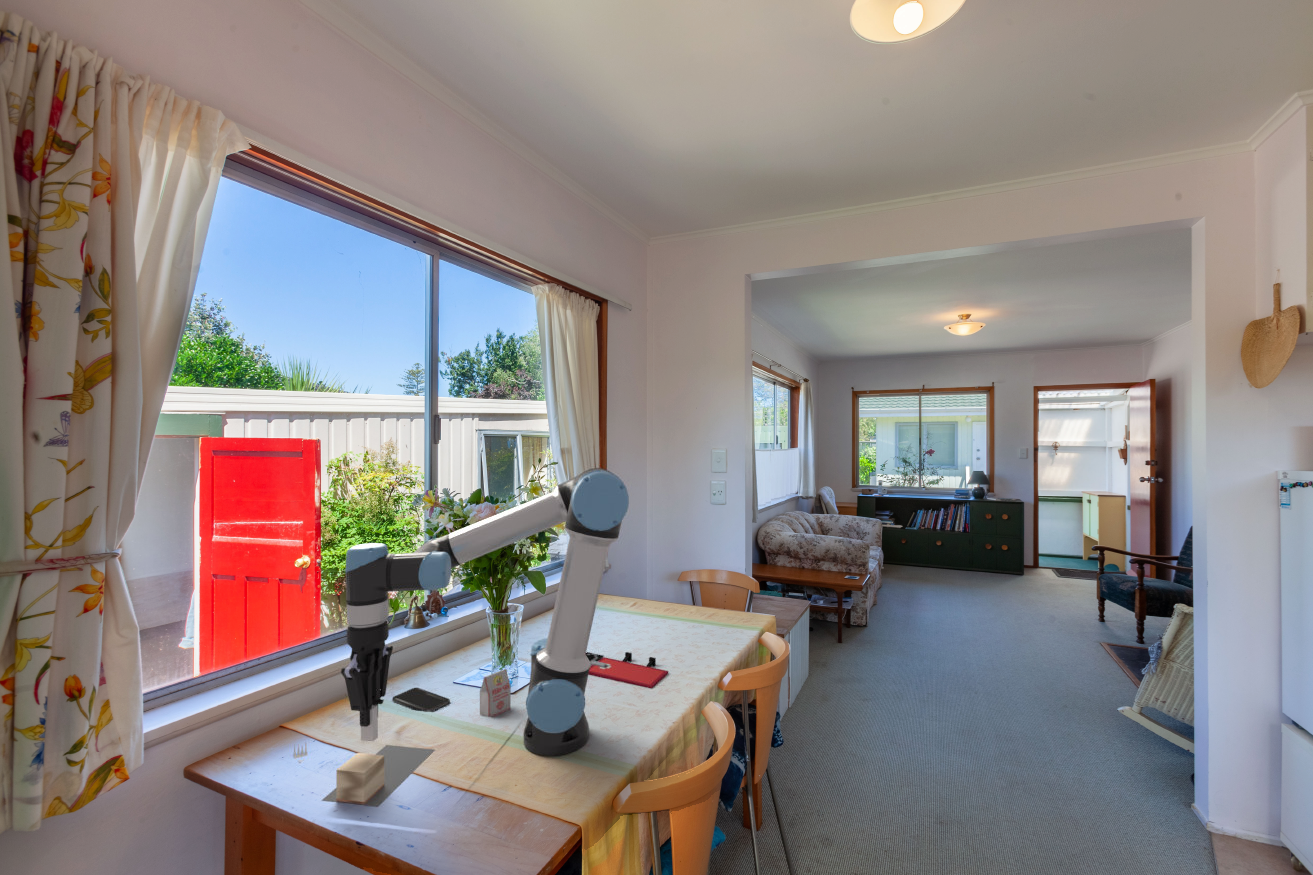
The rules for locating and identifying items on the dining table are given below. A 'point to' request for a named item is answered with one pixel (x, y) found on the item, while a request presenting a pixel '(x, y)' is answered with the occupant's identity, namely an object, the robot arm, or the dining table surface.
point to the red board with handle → (625, 670)
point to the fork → (299, 753)
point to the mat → (392, 771)
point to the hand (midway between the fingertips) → (369, 738)
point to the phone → (421, 700)
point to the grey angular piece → (495, 694)
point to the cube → (360, 778)
